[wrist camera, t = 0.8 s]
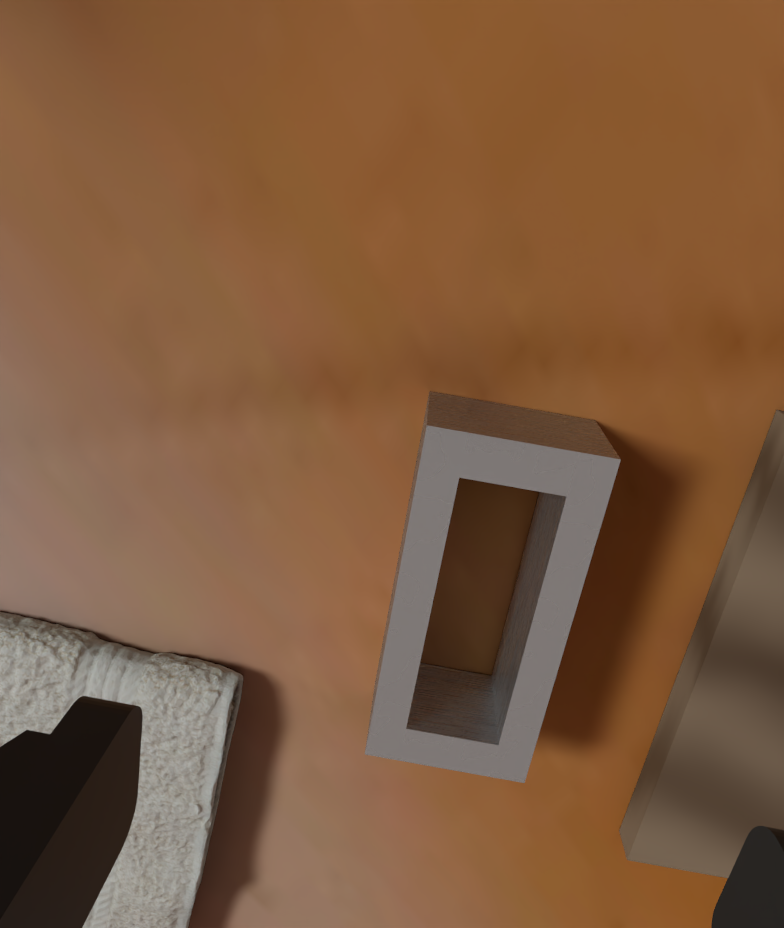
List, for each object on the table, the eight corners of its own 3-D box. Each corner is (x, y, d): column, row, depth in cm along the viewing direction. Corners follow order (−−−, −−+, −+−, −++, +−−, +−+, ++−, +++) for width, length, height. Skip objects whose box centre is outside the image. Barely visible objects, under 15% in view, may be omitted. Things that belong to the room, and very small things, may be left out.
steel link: (429, 391, 26) (426, 425, 22) (594, 420, 26) (620, 459, 22) (374, 684, 30) (364, 754, 27) (514, 710, 30) (524, 782, 26)
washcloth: (-27, 881, 37) (-67, 939, 34) (-19, 589, 31) (-67, 630, 28) (197, 933, 37) (176, 995, 34) (252, 655, 31) (232, 702, 28)
